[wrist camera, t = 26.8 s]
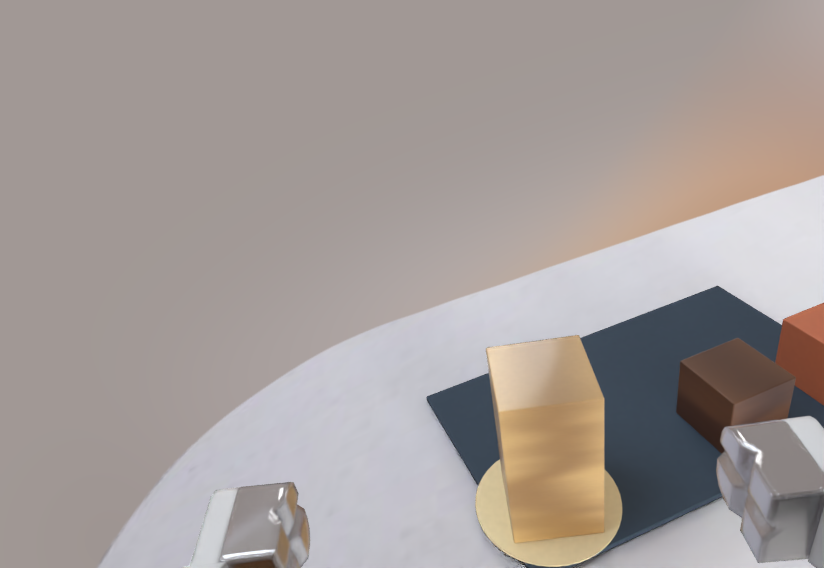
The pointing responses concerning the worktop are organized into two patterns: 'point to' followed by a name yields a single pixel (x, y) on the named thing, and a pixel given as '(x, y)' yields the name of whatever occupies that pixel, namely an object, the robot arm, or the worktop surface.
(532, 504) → the brass rectangular block
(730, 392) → the walnut block
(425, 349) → the worktop surface
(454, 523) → the worktop surface
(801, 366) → the terracotta block
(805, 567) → the worktop surface
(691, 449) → the pattern mat
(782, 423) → the robot arm
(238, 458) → the worktop surface
